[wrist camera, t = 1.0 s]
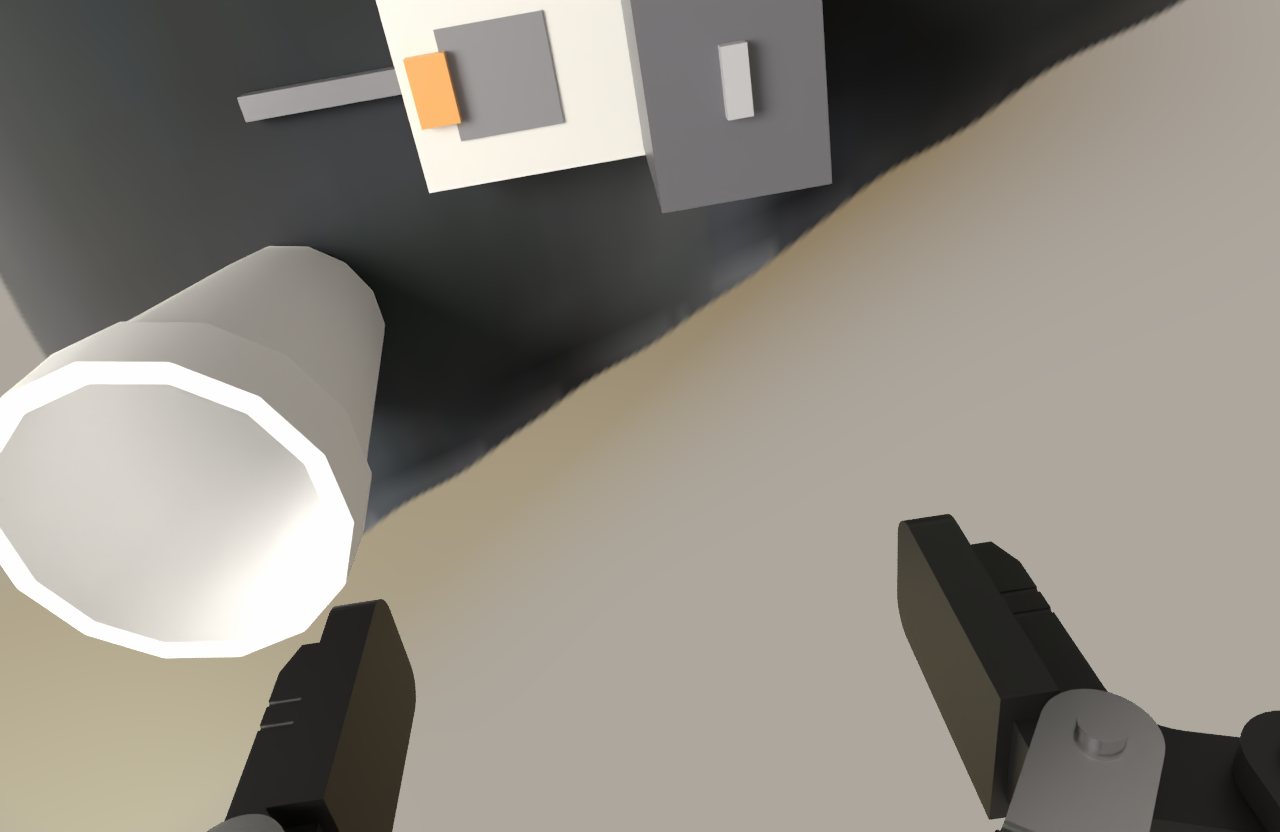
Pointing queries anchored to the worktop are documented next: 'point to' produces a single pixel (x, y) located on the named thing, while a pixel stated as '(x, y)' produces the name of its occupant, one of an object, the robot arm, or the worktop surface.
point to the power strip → (493, 86)
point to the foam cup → (199, 461)
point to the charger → (729, 97)
